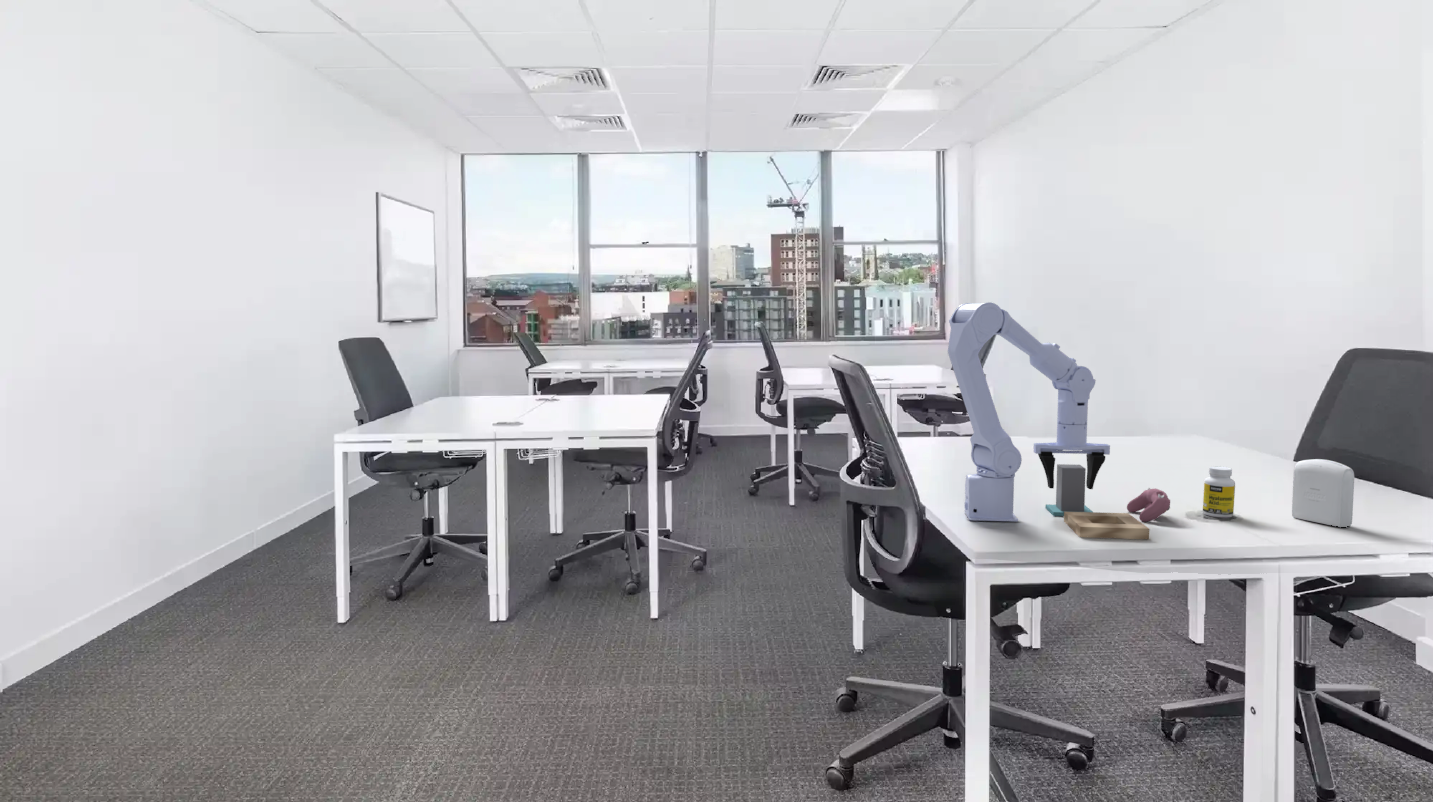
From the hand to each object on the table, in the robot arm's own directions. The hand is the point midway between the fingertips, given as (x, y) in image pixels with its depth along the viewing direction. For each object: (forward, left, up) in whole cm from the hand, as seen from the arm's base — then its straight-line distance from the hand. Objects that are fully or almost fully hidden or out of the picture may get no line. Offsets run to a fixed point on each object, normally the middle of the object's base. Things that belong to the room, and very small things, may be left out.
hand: (1070, 487), depth 172 cm
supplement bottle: (+29, +1, -5) cm, 30 cm away
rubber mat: (0, 0, -5) cm, 5 cm away
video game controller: (+15, -2, -6) cm, 16 cm away
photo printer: (+46, -3, -6) cm, 46 cm away
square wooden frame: (+3, -14, -5) cm, 15 cm away
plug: (0, 0, -4) cm, 4 cm away
